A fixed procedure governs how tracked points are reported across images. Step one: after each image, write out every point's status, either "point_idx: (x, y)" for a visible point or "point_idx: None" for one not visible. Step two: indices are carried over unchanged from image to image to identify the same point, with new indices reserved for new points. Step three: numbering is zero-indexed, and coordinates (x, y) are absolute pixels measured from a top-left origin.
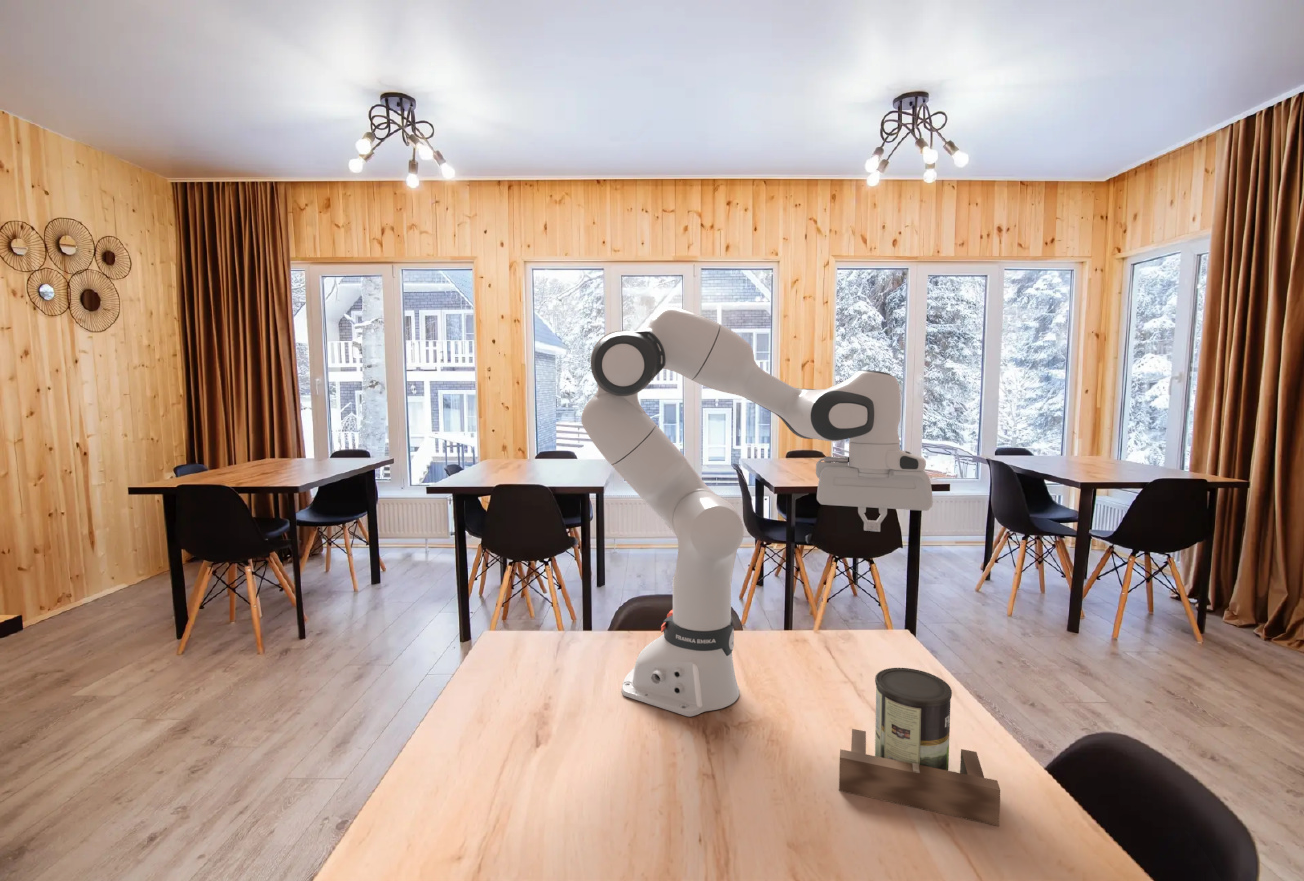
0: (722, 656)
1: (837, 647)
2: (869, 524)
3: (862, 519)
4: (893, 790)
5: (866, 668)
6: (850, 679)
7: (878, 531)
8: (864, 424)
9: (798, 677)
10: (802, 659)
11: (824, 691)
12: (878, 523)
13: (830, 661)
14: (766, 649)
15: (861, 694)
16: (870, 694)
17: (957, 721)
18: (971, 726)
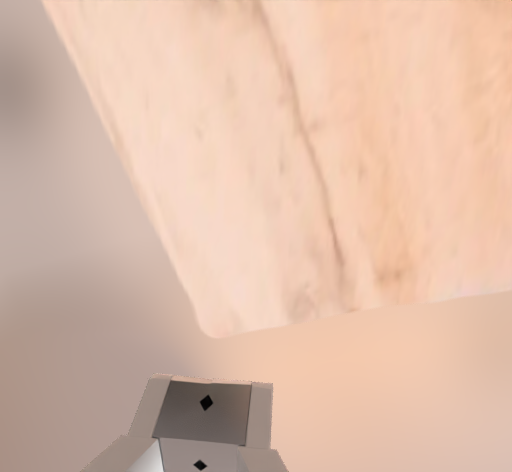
0: None
1: (319, 264)
2: (224, 422)
3: (283, 468)
4: None
5: (270, 195)
6: (303, 140)
7: (167, 375)
8: None
9: (413, 117)
10: (395, 199)
11: (362, 69)
12: (146, 428)
13: (338, 205)
14: (468, 223)
15: (285, 81)
16: (267, 87)
17: (108, 26)
18: (83, 13)
